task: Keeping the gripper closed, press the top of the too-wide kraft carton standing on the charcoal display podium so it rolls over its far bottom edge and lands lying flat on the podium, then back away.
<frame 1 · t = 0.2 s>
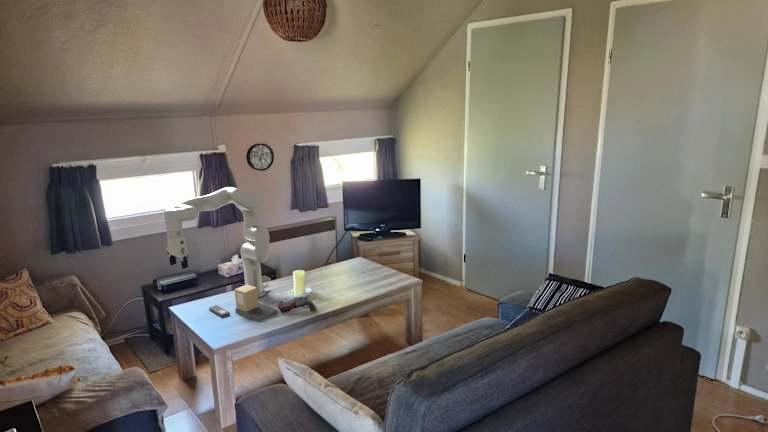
hand: (179, 266, 244), 31 cm above the table, fingers open, 9 cm apart
toy gun: (297, 312, 262), on the table
podium: (256, 313, 261), on the table
remote: (219, 313, 263), on the table
carton: (247, 307, 262), point 2 cm above the table, touching podium
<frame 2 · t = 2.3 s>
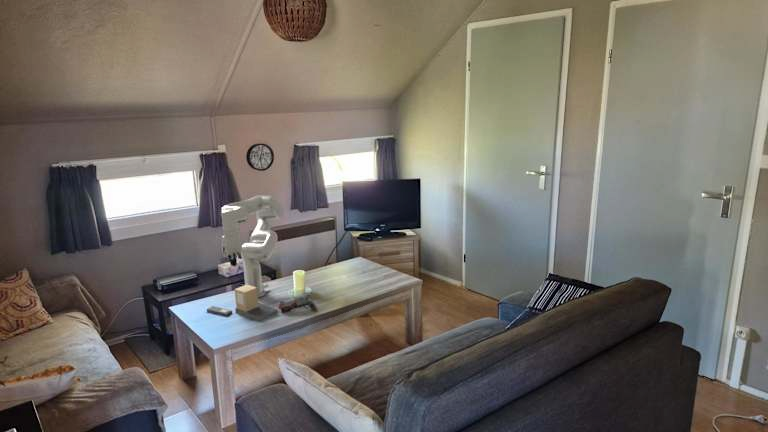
hand: (233, 265, 262), 25 cm above the table, fingers closed
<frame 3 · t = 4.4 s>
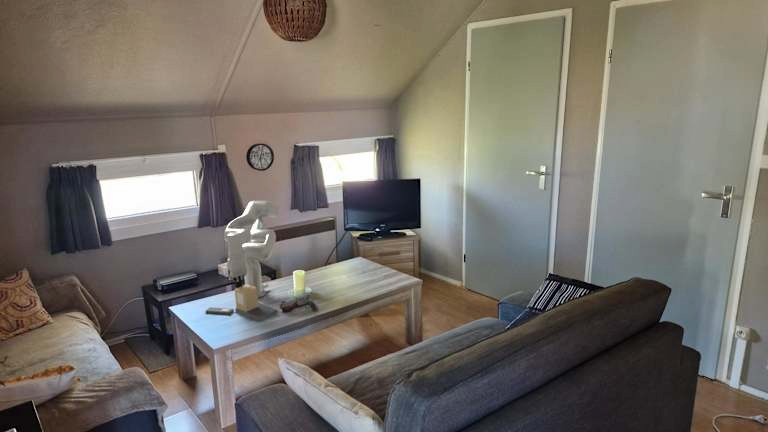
hand: (238, 287, 263), 13 cm above the table, fingers closed
carton: (247, 307, 262), point 3 cm above the table, touching gripper, podium
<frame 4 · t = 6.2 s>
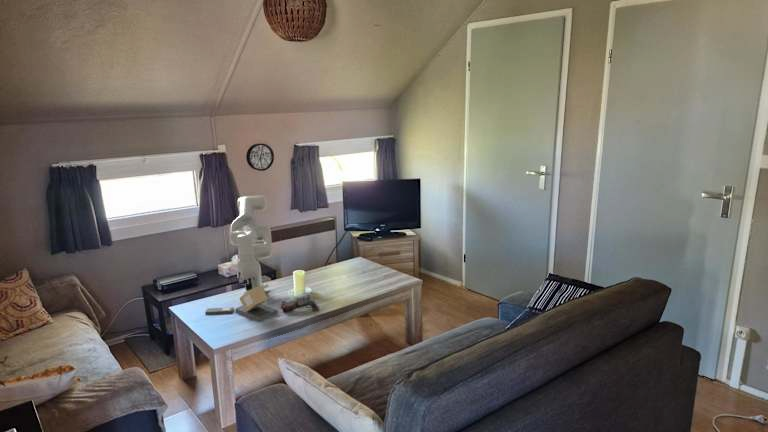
hand: (249, 290, 257), 13 cm above the table, fingers closed
carton: (248, 302, 261), point 6 cm above the table, tilted 53°, touching gripper, podium
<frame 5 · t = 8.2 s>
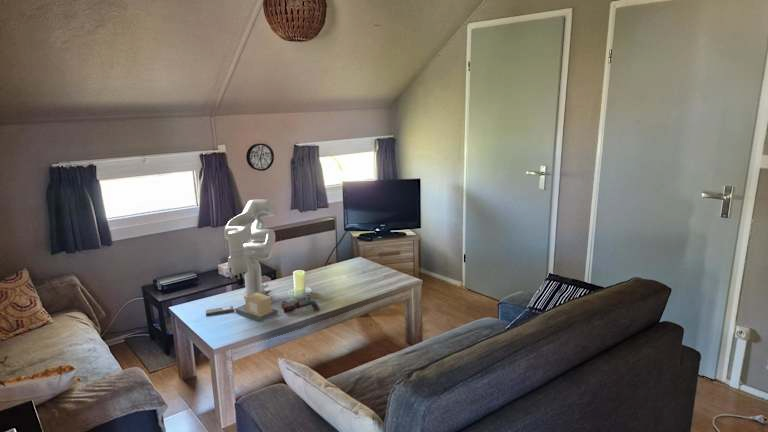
hand: (240, 285, 263), 14 cm above the table, fingers closed
carton: (251, 302, 259), point 7 cm above the table, tilted 90°, touching podium
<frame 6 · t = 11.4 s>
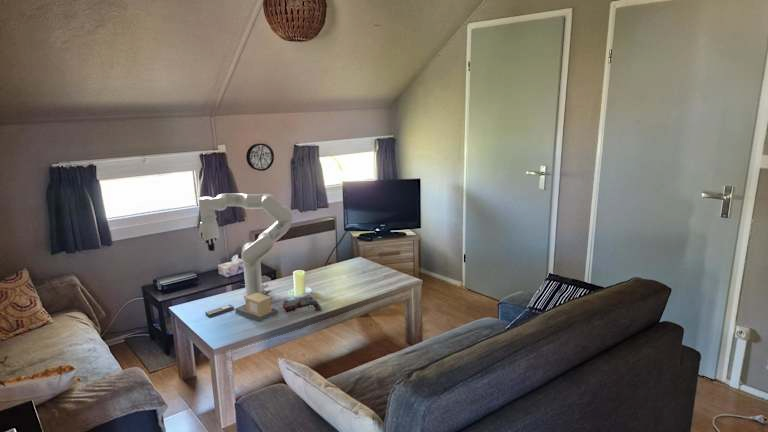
hand: (211, 250, 275), 29 cm above the table, fingers closed
at the end: carton tilted 90°; carton inside the target area on the podium (5.0 cm from its centre), point 6.6 cm above the podium's base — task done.
